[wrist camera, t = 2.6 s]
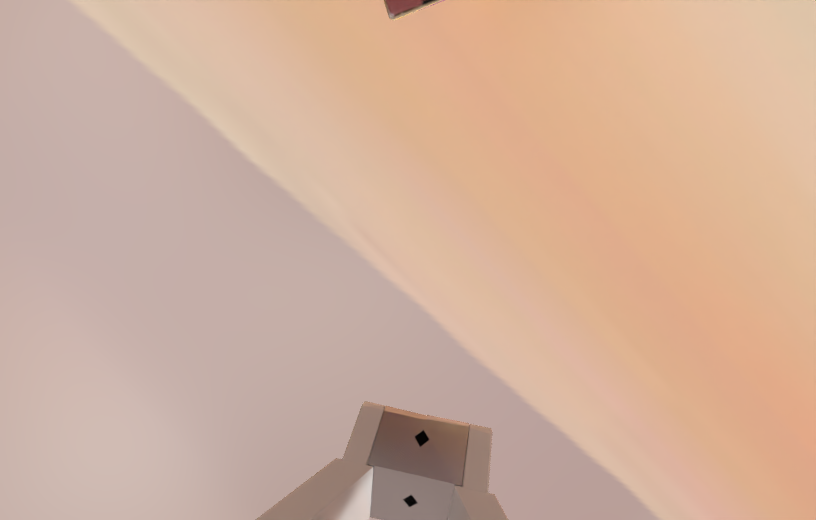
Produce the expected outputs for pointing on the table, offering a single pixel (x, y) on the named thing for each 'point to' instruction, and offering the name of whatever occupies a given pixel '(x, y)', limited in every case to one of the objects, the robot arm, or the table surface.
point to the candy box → (406, 7)
